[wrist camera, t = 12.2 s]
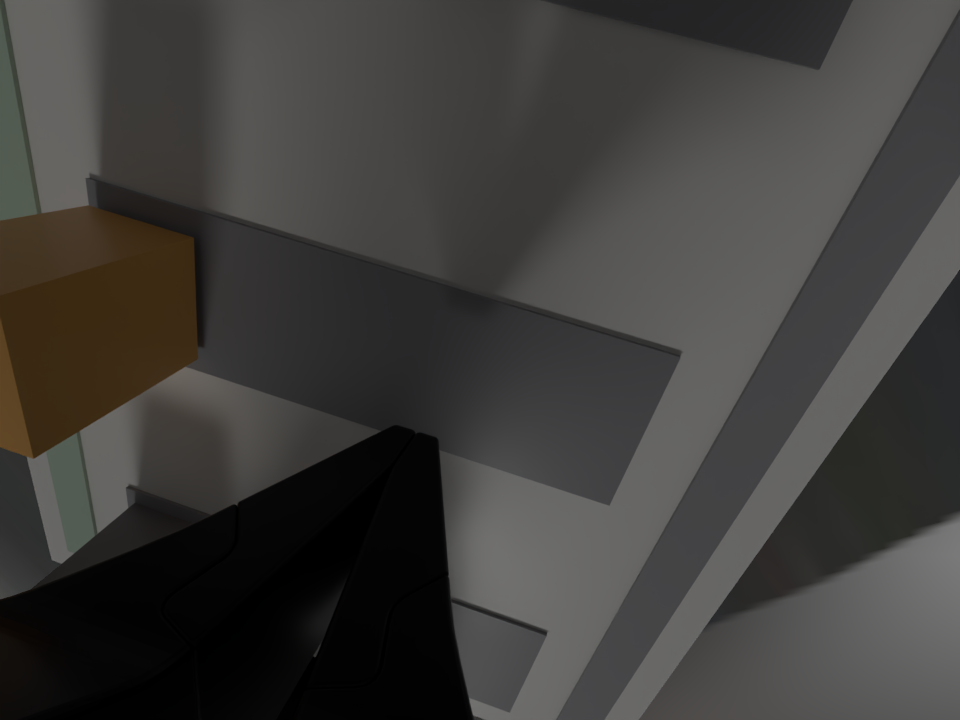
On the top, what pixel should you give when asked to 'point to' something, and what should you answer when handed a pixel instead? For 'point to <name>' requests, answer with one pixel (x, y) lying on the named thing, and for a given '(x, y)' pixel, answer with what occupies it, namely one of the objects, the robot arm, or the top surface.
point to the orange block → (87, 319)
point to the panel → (505, 279)
